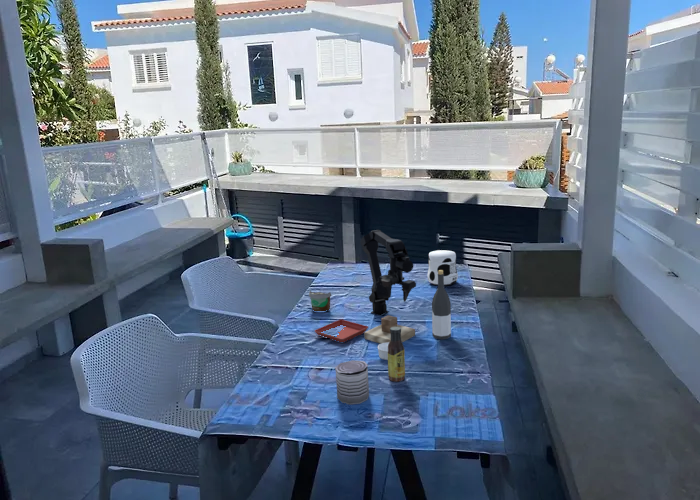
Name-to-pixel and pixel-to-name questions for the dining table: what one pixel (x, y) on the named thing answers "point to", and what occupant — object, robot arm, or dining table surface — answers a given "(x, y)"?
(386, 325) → the walnut block
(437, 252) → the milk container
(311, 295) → the food container
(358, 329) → the plant saucer
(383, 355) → the ramekin
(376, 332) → the birch base
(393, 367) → the sauce bottle
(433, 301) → the wine bottle
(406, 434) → the dining table surface
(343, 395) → the can
